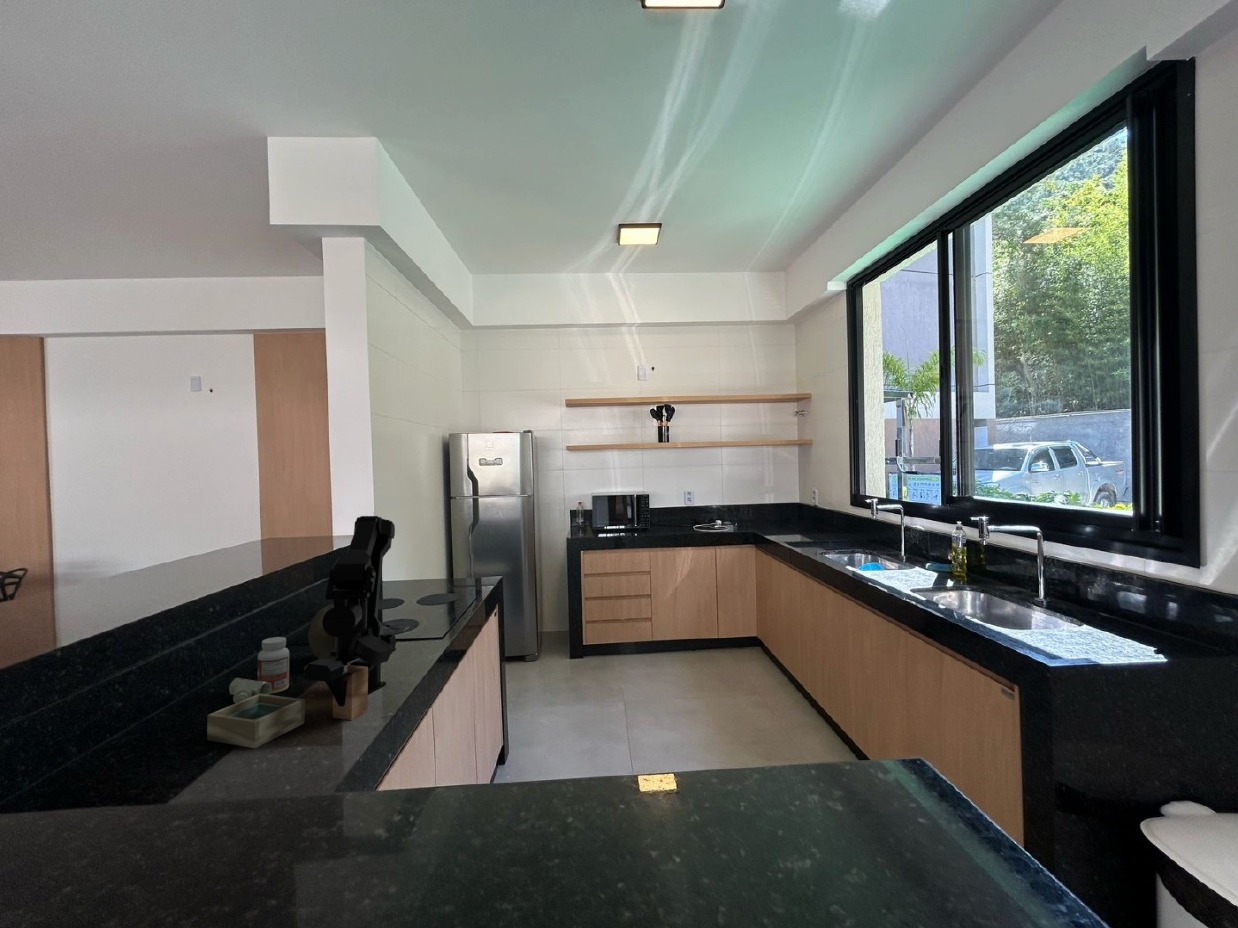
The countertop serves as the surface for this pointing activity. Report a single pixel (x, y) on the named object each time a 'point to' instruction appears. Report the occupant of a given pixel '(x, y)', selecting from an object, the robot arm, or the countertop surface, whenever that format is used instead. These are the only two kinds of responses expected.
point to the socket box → (255, 720)
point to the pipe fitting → (248, 689)
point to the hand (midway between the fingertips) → (350, 701)
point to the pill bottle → (274, 664)
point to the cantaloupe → (321, 636)
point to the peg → (354, 694)
